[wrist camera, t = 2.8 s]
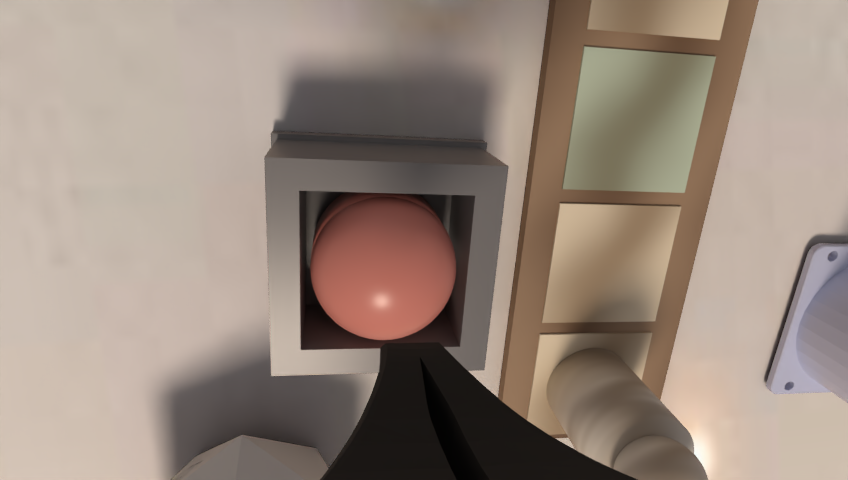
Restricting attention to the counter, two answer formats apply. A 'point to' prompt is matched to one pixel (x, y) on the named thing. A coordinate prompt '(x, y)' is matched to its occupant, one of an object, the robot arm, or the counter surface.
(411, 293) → the popper dome
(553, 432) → the board
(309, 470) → the die
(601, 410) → the pawn
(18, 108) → the counter surface
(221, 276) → the counter surface
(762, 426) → the counter surface
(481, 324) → the frame
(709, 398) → the counter surface
